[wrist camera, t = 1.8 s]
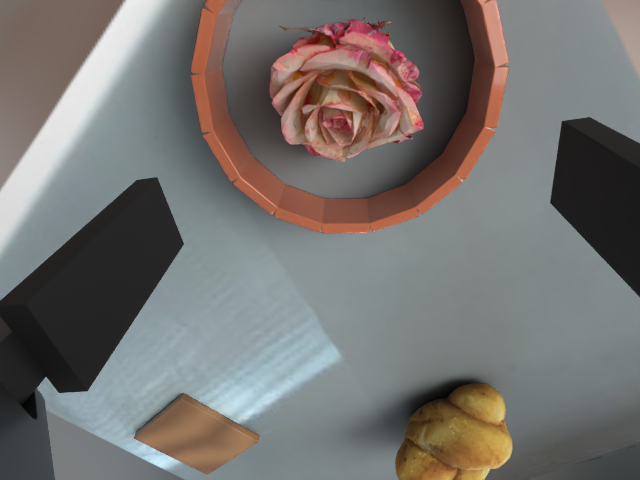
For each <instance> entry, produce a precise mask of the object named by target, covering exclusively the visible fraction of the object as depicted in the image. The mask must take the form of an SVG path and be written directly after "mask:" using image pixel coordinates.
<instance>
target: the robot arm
mask: <svg viewBox="0 0 640 480" xmlns="http://www.w3.org/2000/svg"><path fill="white" fill-rule="evenodd" d="M550 203H551V204H552V205H553V206H554V207H555V208H556V209H557V210H558V212H559V213H560V214H561V215H562V216H563V217H564V218H565V219H566V220H567V221H568V222H569V223H570V224H571V225H572V226H573V227H574V228H575V229H576V230H577V232H578V233H579V234H580V235H581V236H582V237H583V238H584V239H585V240H586V241H587V242H588V243H589V244H590V245H591V246H592V247H593V248H594V249H595V250H596V251H597V253H598V254H599V255H600V256H601V257H602V258H603V259H604V260H605V261H606V262H607V263H608V264H609V265H610V266H611V267H612V268H613V269H614V270H615V271H616V273H617V274H618V275H619V276H620V277H621V278H622V279H623V280H624V281H625V282H626V283H627V284H628V285H629V286H630V287H631V288H632V289H633V290H634V291H635V292H636V294H637V295H638V296H639V297H640V143H638V142H636V141H634V140H632V139H630V138H628V137H626V136H624V135H622V134H620V133H619V132H617V131H615V130H613V129H611V128H609V127H607V126H605V125H603V124H601V123H599V122H597V121H596V120H594V119H592V118H590V117H588V118H581V119H574V120H567V121H562V125H561V132H560V139H559V146H558V153H557V160H556V166H555V173H554V180H553V187H552V194H551V201H550ZM183 245H184V243H183V241H182V238H181V236H180V233H179V231H178V228H177V226H176V223H175V221H174V218H173V216H172V213H171V211H170V208H169V206H168V203H167V201H166V198H165V196H164V193H163V191H162V188H161V186H160V183H159V181H158V178H157V177H156V178H148V179H141V180H136V181H135V182H134V183H133V184H132V185H131V186H130V187H128V188H127V189H126V190H125V191H124V192H123V193H122V194H120V195H119V196H118V197H117V198H116V199H115V200H114V201H113V202H111V203H110V204H109V205H108V206H107V207H106V208H105V209H104V210H102V211H101V212H100V213H99V214H98V215H97V216H96V217H94V218H93V219H92V220H91V221H90V222H89V223H88V224H87V225H85V226H84V227H83V228H82V229H81V230H80V231H79V232H78V233H76V234H75V235H74V236H73V237H72V238H71V239H70V240H68V241H67V242H66V243H65V244H64V245H63V246H62V247H61V248H59V249H58V250H57V251H56V252H55V253H54V254H53V255H52V256H50V257H49V258H48V259H47V260H46V261H45V262H44V263H42V264H41V265H40V266H39V267H38V268H37V269H36V270H35V271H33V272H32V273H31V274H30V275H29V276H28V277H27V278H26V279H24V280H23V281H22V282H21V283H20V284H19V285H18V286H16V287H15V288H14V289H13V290H12V291H11V292H10V293H9V294H7V295H6V296H5V297H4V298H3V299H2V300H1V301H0V480H55V477H54V470H53V463H52V454H51V447H50V439H49V431H48V424H47V416H46V408H45V401H44V398H43V396H42V395H41V393H40V392H39V391H38V390H37V387H38V386H39V385H40V383H41V382H42V381H43V379H44V378H45V377H47V378H48V379H49V381H50V382H51V383H52V384H53V386H54V387H55V388H56V390H57V391H58V392H59V393H65V392H82V391H88V389H89V388H90V386H91V385H92V383H93V382H94V380H95V379H96V377H97V376H98V374H99V373H100V371H101V370H102V368H103V367H104V365H105V364H106V362H107V360H108V359H109V357H110V356H111V354H112V353H113V351H114V350H115V348H116V347H117V345H118V344H119V342H120V341H121V339H122V338H123V336H124V335H125V333H126V332H127V330H128V329H129V327H130V325H131V324H132V322H133V321H134V319H135V318H136V316H137V315H138V313H139V312H140V310H141V309H142V307H143V306H144V304H145V303H146V301H147V300H148V298H149V297H150V295H151V293H152V292H153V290H154V289H155V287H156V286H157V284H158V283H159V281H160V280H161V278H162V277H163V275H164V274H165V272H166V271H167V269H168V268H169V266H170V265H171V263H172V262H173V260H174V258H175V257H176V255H177V254H178V252H179V251H180V249H181V248H182V246H183Z"/></svg>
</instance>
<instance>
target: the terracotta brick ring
mask: <svg viewBox="0 0 640 480" xmlns="http://www.w3.org/2000/svg"><path fill="white" fill-rule="evenodd" d="M241 1H242V0H207V1H206V2H205V4H204V5H205V7H206V8H203V9H202V12H201V18H200V23H199V28H198V34H197V39H196V45H195V50H194V55H193V61H192V66H191V72H193V73H194V74H192V75H191V80H192V85H193V90H194V95H195V101H196V106H197V111H198V116H199V122H200V127H201V132H202V133H205V134H204V135H203V137H204V139H205V140H206V142H207V143H208V145H209V147H210V148H211V150H212V152H213V153H214V155H215V157H216V158H217V160H218V162H219V163H220V165H221V167H222V168H223V170H224V172H225V173H226V175H227V177H228V178H229V180H230V181H233V180H235V181H234V182H233V184H234V185H235V186H236V187H237V188H239V189H240V190H241V191H242V192H244V193H245V194H246V195H247V196H249V197H250V198H251V199H252V200H253V201H255V202H256V203H257V204H258V205H260V206H261V207H262V208H263V209H265V210H266V211H267V212H268V213H270V214H271V215H272V214H273V213H274V212H275V214H274V217H277V218H280V219H282V220H285V221H288V222H291V223H294V224H297V225H299V226H302V227H305V228H308V229H311V230H314V231H316V232H320V230H321V227H322V233H370V228H371V230H372V232H375V231H378V230H380V229H383V228H386V227H389V226H392V225H395V224H398V223H401V222H403V221H406V220H409V219H412V218H415V217H418V216H419V213H418V211H419V212H420V213H421V214H424V213H425V212H426V211H427V210H429V209H430V208H431V207H432V206H434V205H435V204H436V203H437V202H439V201H440V200H441V199H442V198H444V197H445V196H446V195H447V194H449V193H450V192H451V191H452V190H454V189H455V188H456V187H457V186H459V185H460V184H461V183H462V182H463V180H462V179H461V178H463V179H466V178H467V176H468V174H469V173H470V171H471V170H472V168H473V166H474V165H475V163H476V162H477V160H478V158H479V157H480V155H481V154H482V152H483V150H484V149H485V147H486V145H487V144H488V142H489V141H490V139H491V137H492V136H493V134H494V133H495V130H494V129H493V128H496V127H497V125H498V120H499V115H500V110H501V105H502V100H503V94H504V89H505V84H506V79H507V74H508V69H509V66H506V65H505V64H507V63H508V62H509V60H508V55H507V50H506V45H505V40H504V35H503V30H502V25H501V20H500V15H499V10H498V5H497V0H460V1H461V3H462V5H463V9H464V13H465V17H466V22H467V26H468V30H469V34H470V38H471V43H472V47H473V51H474V55H475V62H474V69H473V75H472V82H471V88H470V95H469V101H468V108H467V111H466V113H465V115H464V116H463V118H462V120H461V122H460V124H459V125H458V127H457V129H456V131H455V132H454V134H453V136H452V138H451V139H450V141H449V143H448V145H447V147H446V148H445V150H444V152H443V154H441V155H440V156H439V157H438V158H437V159H436V160H434V161H433V162H432V163H431V164H430V165H429V166H427V167H426V168H425V169H424V170H423V171H421V172H420V173H419V174H418V175H417V176H416V177H414V178H413V179H412V180H411V181H410V182H409V183H407V184H405V185H402V186H399V187H397V188H394V189H391V190H389V191H386V192H383V193H381V194H378V195H375V196H373V197H370V198H367V199H324V198H322V197H319V196H316V195H313V194H311V193H308V192H305V191H302V190H300V189H297V188H294V187H292V186H289V185H286V184H284V183H283V182H282V181H281V180H280V179H278V178H277V177H276V176H275V175H274V174H272V173H271V172H270V171H269V170H268V169H267V168H265V167H264V166H263V165H262V164H261V163H260V162H258V161H257V160H256V159H255V158H254V157H253V156H252V155H251V153H250V151H249V149H248V147H247V146H246V144H245V142H244V140H243V138H242V137H241V135H240V133H239V131H238V129H237V128H236V126H235V124H234V122H233V120H232V119H231V117H230V115H229V109H228V103H227V96H226V89H225V83H224V76H223V70H222V63H223V58H224V54H225V49H226V45H227V40H228V36H229V31H230V27H231V22H232V18H233V13H234V11H235V10H236V8H237V7H238V5H239V4H240V2H241Z"/></svg>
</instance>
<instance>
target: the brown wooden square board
mask: <svg viewBox="0 0 640 480" xmlns="http://www.w3.org/2000/svg"><path fill="white" fill-rule="evenodd" d="M134 439H136V440H138V441H140V442H142V443H144V444H146V445H148V446H150V447H152V448H154V449H156V450H158V451H160V452H162V453H164V454H166V455H168V456H170V457H172V458H174V459H176V460H178V461H181V462H183V463H185V464H187V465H189V466H191V467H193V468H195V469H197V470H199V471H201V472H203V473H205V474H207V475H208V474H210V473H211V472H213V471H214V470H216V469H217V468H219V467H220V466H222V465H224V464H225V463H227V462H228V461H230V460H231V459H233V458H234V457H236V456H237V455H239V454H241V453H242V452H244V451H245V450H247V449H248V448H250V447H251V446H253V445H255V444H256V443H258V441H259V436H258V435H257V434H255V433H253V432H251V431H250V430H248V429H246V428H244V427H242V426H241V425H239V424H237V423H235V422H234V421H232V420H230V419H228V418H226V417H225V416H223V415H221V414H219V413H218V412H216V411H214V410H212V409H210V408H209V407H207V406H205V405H203V404H202V403H200V402H198V401H196V400H194V399H193V398H191V397H189V396H187V395H185V394H184V393H183V394H182V395H181V396H179V397H178V398H177V399H176V400H175V401H173V402H172V403H171V404H170V405H169V406H167V407H166V408H165V409H164V410H163V411H161V412H160V413H159V414H158V415H157V416H155V417H154V418H153V419H152V420H151V421H149V422H148V423H147V424H146V425H145V426H143V427H142V428H141V429H140V430H139V431H138V432H136V434H135V436H134Z"/></svg>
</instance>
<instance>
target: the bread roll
mask: <svg viewBox="0 0 640 480" xmlns="http://www.w3.org/2000/svg"><path fill="white" fill-rule="evenodd" d="M505 413H506V410H505V404H504V399H503V398H502V396H501V394H500V393H499V392H498V391H497V390H496V389H495V388H493V387H492V386H490V385H487V384H482V383H473V384H467V385H463V386H460V387H458V388H456V389H455V390H454V391H453V392H452V393H451V394H450V395H449V396H448V397H447V398H445V399H436V400H434V401H430V402H429V403H427V404H425V405H423V406H422V407H420V408H418V409H417V410H416V411H415V412H414V414H413V415H412V416H411V418H410V419H409V421H408V423H407V431H406V435H405V441H404V442H403V443H402V445H401V447H400V449H399V450H398V453H397V456H396V462H395V464H396V473H397V476H398V478H399V480H484V479H485V477H486V476H487V474H488V472H489V470H490V469H494V468H498V467H500V466H501V465H502V464H504V463H505V462H506V461H507V460H508V459H509V457H510V456H511V453H512V448H513V447H512V439H511V437H510V434H509V432H508V430H507V424H506V422H505V421H504V417H505Z"/></svg>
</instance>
